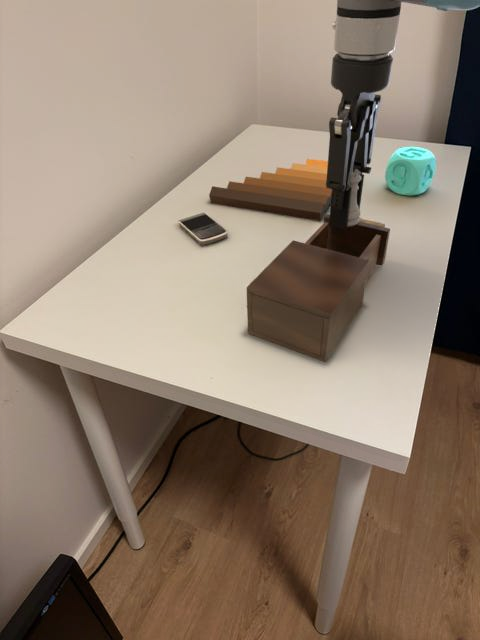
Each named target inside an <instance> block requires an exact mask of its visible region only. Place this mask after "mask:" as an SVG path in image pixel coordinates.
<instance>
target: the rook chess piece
mask: <svg viewBox="0 0 480 640" xmlns="http://www.w3.org/2000/svg"><path fill="white" fill-rule="evenodd" d="M361 179H362V177H361V176H360V171H358V170H357V169H355V172H353V170H352V175H351V181H350V187H351V188H352V191H351V200H350V208H349V216H348V224H347V227H349V226H354V225H356V224H357V223H358V222H359V221H360V218H361V217H360V216H361V210H359V206H358V205H357V190H358V189H359V187H358V183H359V182H360V180H361Z"/></svg>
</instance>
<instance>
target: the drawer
mask: <svg viewBox="0 0 480 640" xmlns="http://www.w3.org/2000/svg"><path fill="white" fill-rule="evenodd" d="M329 218H330V213H327V214H326V213H325V214H324V216H323V223H322V224H321V225H320V226H319V227H318V228H317V230H316V231H314V233H313V234H312V235H311V236H310V237H309V238H307V240H306V241H305V242H304V243H305V244H309V245H313V246H317V247H320V248H324V249H328V250H332V251H336V252H339V253H343V254H347V255H351V256H354V257H358V258H362V259H366V260H369V264H368V271H367V277H366V282H367V281H368V279H369V278H370V277H371V275H372V274H373V272H374V270H375V269H376V268H377V266H379V267H383V266H384V264H385V261H386V256H387V255H386V254H387V250H388V243H389V238H390V233H391V228H390V227H385V226H386V224H385V223H383V222H379V221H375V220H370V219H366V218H362V217H360V221H359V222H358V223H357V224H356V225H354V226H349V227H347V228H346V229H345V230H344V229H340V228H336V227H332V226H329Z"/></svg>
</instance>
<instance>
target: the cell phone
mask: <svg viewBox="0 0 480 640" xmlns="http://www.w3.org/2000/svg"><path fill="white" fill-rule="evenodd" d="M177 222H178V225H179V226H180V227H181V228H182V229H183V230H184V231H186V233H188V235H190V236H191V237H192V238H193V239H194V240H195V241H196V242H198V243H199V244H200V245H201V246H205V245H209V244H212V243H215V242H219V241H221V240H223V239H226V238H227V236H228V233H229V232H228V231H227V230H226V229H225V228H224V227H223V226H222V225H220V224H219V223H218V222H217V221H216V220H214V219H213V218H212V217H210V216H209V215H208V214H206V213H205V212H201V213H198V214H195V215H192V216H187V217H185V218H181V219H178V220H177Z"/></svg>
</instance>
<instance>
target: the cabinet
mask: <svg viewBox="0 0 480 640" xmlns="http://www.w3.org/2000/svg"><path fill="white" fill-rule="evenodd" d="M368 264H369V260H366V259H362V258H358V257H354V256H351V255H347V254H343V253H339V252H336V251H332V250H328V249H324V248H320V247H317V246H313V245H309V244H305V242H301V241H298V240H293V239H292V241H291V242H290V243H289V244H288V245H286V246H285V248H284V249H283V250H282V251H281V252H280V253H279V254H278V255H277V256H276V257H275V258H273V260H272V261H271V262H270V263H269V264H267V266H266V267H265V268H263V270H262V271H261V272H260V273H258V275H257V276H256V277H255V278H254V279H253V280H252V281H251V282H250V283H249V284H248V286H246V312H247V313H246V314H247V315H246V316H247V317H246V318H247V334H249V335H251V336H254V337H257V338H260V339H262V340H265V341H268V342H270V343H273V344H276V345H278V346H280V347H284V348H287V349H289V350H292V351H295V352H297V353H300V354H303V355H305V356H307V357H311V358H314V359H316V360H319V361H321V362H324V363H326V362H327V360H328V358H329V357H330V355H331V354H332V353H333V351H334V349H335V348H336V346H337V345H338V343H339V342H340V340H341V338H342V337H343V335H344V334H345V333H346V331H347V329H348V328H349V326H350V325H351V323H352V321H353V320H354V319H355V317H356V316H357V314H358V313H359V311H360V309H361V308H362V307H363V302H364V296H365V289H366V283H367V281H366V277H367V271H368Z"/></svg>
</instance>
